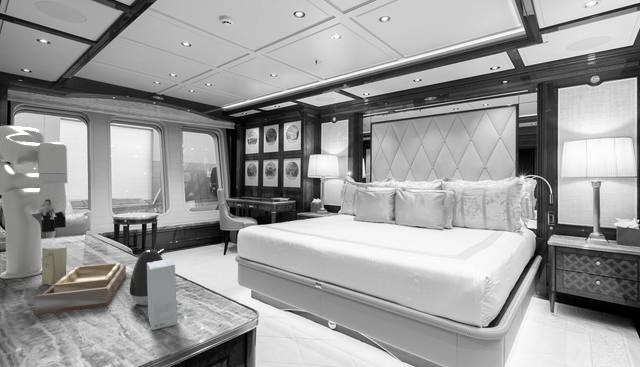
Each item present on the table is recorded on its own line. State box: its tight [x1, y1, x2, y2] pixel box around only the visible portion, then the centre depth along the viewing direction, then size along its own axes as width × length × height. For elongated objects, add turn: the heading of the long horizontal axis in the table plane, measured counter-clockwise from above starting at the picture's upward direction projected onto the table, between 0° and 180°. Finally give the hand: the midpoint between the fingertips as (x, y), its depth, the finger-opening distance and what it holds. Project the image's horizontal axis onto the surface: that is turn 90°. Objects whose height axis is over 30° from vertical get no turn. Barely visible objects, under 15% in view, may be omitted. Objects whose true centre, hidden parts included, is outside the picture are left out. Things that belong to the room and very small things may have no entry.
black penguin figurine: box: [129, 248, 166, 307], centre depth 91 cm, size 10×10×15 cm
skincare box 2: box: [147, 258, 178, 331], centre depth 78 cm, size 8×6×15 cm
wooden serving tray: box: [33, 264, 127, 316], centre depth 98 cm, size 29×16×5 cm, turn 23°
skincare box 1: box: [41, 245, 68, 286], centre depth 107 cm, size 6×4×12 cm
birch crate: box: [54, 262, 121, 293], centre depth 102 cm, size 20×13×4 cm, turn 23°
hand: (54, 229), depth 106 cm, fingers open, 9 cm apart
